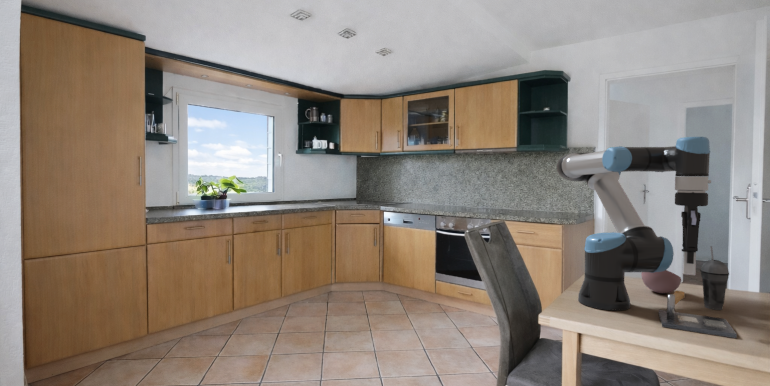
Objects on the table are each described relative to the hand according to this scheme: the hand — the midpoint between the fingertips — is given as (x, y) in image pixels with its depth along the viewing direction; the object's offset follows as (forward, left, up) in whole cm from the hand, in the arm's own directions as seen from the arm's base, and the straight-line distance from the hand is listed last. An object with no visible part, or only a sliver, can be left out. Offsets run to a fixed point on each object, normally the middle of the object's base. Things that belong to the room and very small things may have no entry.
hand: (689, 274), depth 114 cm
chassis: (+2, 0, -14) cm, 14 cm away
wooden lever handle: (-2, +7, -10) cm, 12 cm away
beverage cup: (+9, +22, -15) cm, 28 cm away
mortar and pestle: (-4, +35, -15) cm, 38 cm away
